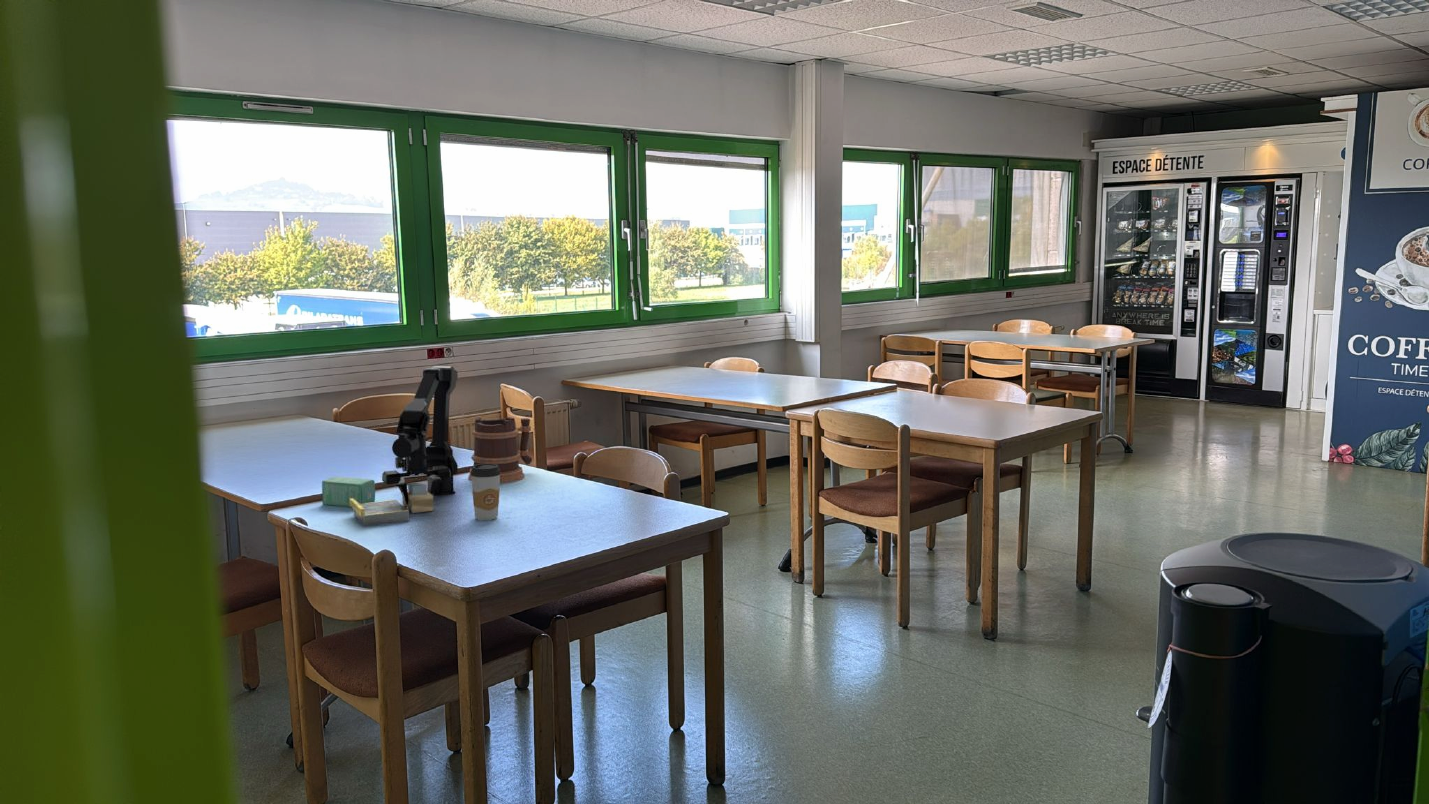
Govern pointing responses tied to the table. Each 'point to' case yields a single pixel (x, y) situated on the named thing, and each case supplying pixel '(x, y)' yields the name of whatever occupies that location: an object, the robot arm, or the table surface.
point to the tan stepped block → (419, 502)
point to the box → (347, 491)
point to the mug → (501, 446)
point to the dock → (379, 512)
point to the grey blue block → (417, 488)
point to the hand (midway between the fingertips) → (417, 503)
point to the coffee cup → (485, 490)
